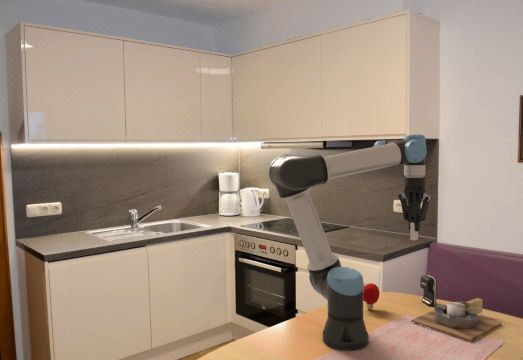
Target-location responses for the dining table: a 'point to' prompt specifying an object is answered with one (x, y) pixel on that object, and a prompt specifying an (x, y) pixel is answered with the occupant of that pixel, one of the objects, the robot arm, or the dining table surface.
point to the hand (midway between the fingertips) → (414, 239)
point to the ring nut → (468, 321)
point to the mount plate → (461, 333)
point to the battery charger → (429, 290)
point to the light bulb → (370, 295)
